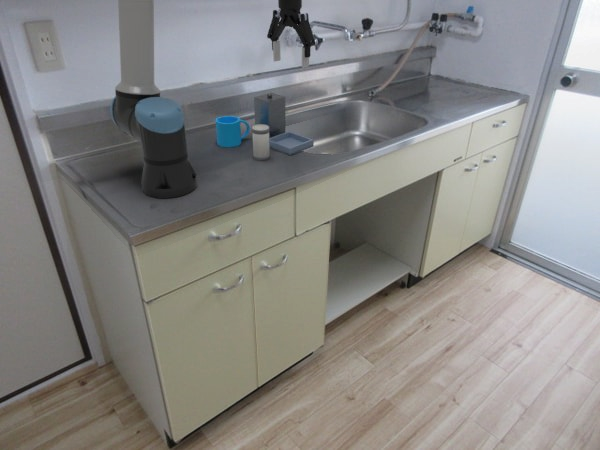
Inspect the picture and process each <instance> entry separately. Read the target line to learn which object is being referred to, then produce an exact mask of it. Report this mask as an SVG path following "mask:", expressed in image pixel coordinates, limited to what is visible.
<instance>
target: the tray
mask: <svg viewBox="0 0 600 450" xmlns="http://www.w3.org/2000/svg"><path fill="white" fill-rule="evenodd" d="M314 143H315V142H314V139H312V138H309V137H307V136H304V135H301V134H299V133H295V132H293V131H290V130H288V131H285V133H283V134H280V135H277V136H274V137H272V138H269V149H271V150H274V151H277V152H280V153H282V154H284V155H288V156H293V155H296V154H298V153H300V152H303V151H305V150H308V149H310V148H313V147H314Z"/></svg>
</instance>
